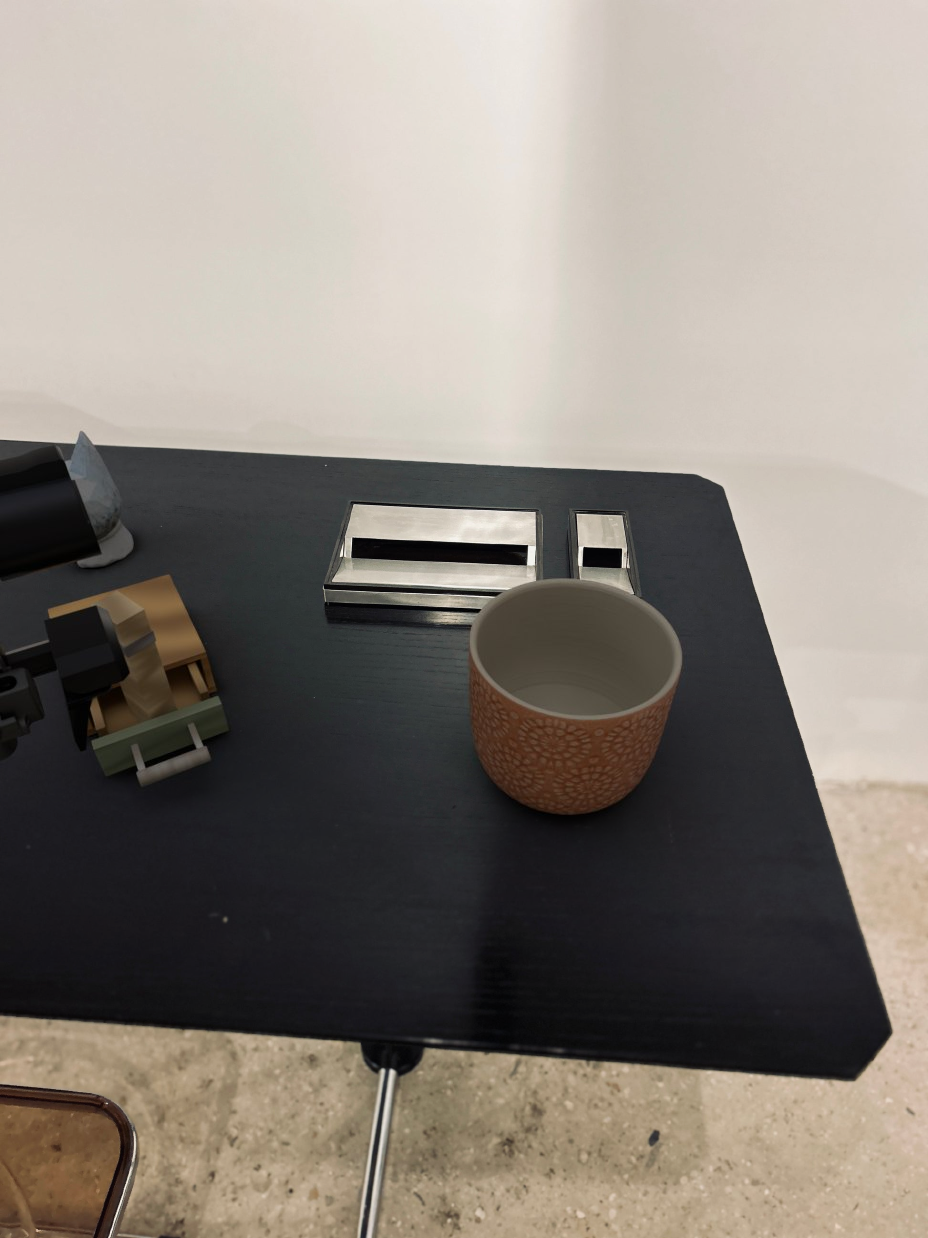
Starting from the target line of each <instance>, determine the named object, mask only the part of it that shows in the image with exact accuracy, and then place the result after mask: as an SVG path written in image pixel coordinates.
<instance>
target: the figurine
mask: <svg viewBox="0 0 928 1238" xmlns="http://www.w3.org/2000/svg"><path fill="white" fill-rule="evenodd" d="M72 451H73V452H72V454H71V457H70V459H69V460H65V463H66V466H67V469H68V472H69V474H70V477H71V480H74V479H75V481H76V484H77V487H78V489H79V492H80V495H81V497H82V500H83V503H84V505H85V508H86V510H87V513H88V516H89V518H90V521H91V524H92V527H93V529H94V532H95V535H96V538H97V541H98V544H99V546H100V549H101V552H102V555H99V556H95V557H91V558H87V559H84V560H80V561H76V563H77V565H78V567H80V568H81V569H97V568H102V567H107V566H109V565H111V564H113V563H115V562H117V561H120V560H123V559H125V558H126V557H127V556H128V555H129V554H130V553H132V552H133V550H134V546H135V545H134V544H135V543H134V538H133V535H132V534H131V532H130V531H129V530H128V529H127V528H126V527H125V526H124V524H123V522H122V520H121V515H122V512H123V507H124V505H123V500H122V496H121V493H120V492H119V489H118V487H117V485H116V484H115V482H114V479H113V478H112V475H111V473H110V471H109V470H108V467H107V466H106V464H105V462H104V461H103V458H102V456H101V455H100V453H99V452H98V450H97V448H96V447H95V445H94V443H93V442H92V441H91V439H90V438H89V437H88V435H87V433H85V432H84V431H83V430H80V431H79V433H78V437H77V440H76V442H75V446H74V448H73V450H72Z"/></svg>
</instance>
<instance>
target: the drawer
mask: <svg viewBox="0 0 928 1238" xmlns="http://www.w3.org/2000/svg"><path fill="white" fill-rule="evenodd" d="M165 674H166V677H167V680H168V683H169V686H170V689H171V692H172V695H173V698H174V701H175V704H176V707H177V710H176V711H173V712H171V713H168V714H165V715H162V716H159V717H157V718H154V719H151V720H148V721H145V722H142V723H141V722H140V721H138V720H137V719H136V718H135V717H133V716H132V714H131V711H130V709H129V706H128V704H127V701H126V698H125V696H124V693H123V691H122V688H121V686H118V687H115V688H112V689H110V691H109V692H107V693H105V694H102V695H99V696H97V697H96V698H94V699H93V701H92V704H91V707H90V710H91V713H92V717H93V720H94V724H95V727H96V731H97V733H96V734H97V735H98V738H95V739H93V740H90V741H91V746H92V750H93V752H94V754H95V756H96V758H97V760H98V762H99V765H100V767H101V769H102V771H103V774H104V776H105V777H109V776H111V775H113V774H117V773H119V772H122V771H124V770H127V769H129V768H132V767H136V768H137V771H136V772H135V773H136V777H137V780H138V782H139V785H140V787H141V788H144V787H147V786H150V785H152V784H155V783H157V782H160V781H162V780H165V779H167V778H170V777H173V776H175V775H178V774H180V773H183V772H185V771H188V770H190V769H194V768H195V767H199V766H201V765H204V764H206V763H209V762H211V761H212V758H211V754H210V752H209V750H208V747H207V745H204V744H203V741H204V740H207V739H210V738H213V737H215V736H218V735H220V734H224V733H226V732H228V731H230V729H229V725H228V721H227V718H226V714H225V711H224V706H223V704H222V701H221V699H220V697H219V696H218V695H216V696H213V697H211V696H210V693H209V692H208V689H207V687H206V685H205V683H204V680H203V678H202V676H201V674H200V672H199V669H198V667H197V665H196V663H195V661H193V662H190V663H187V664H184V665H181V666H178V667H175V668H172V669H169V670H166V671H165ZM191 745H194V746H195V749H193V750H191V751H187V752H185V753H182V754H180V755H177V756H174V757H172V758H169V759H167V760H165V761H162V762H158V763H157V764H154V765H150V766H148V767H146V765H145V763H146V762H149V761H151V760H154V759H156V758H159V757H162V756H164V755H168V754H170V753H173V752H175V751H178V750H180V749H183V748H185V747H188V746H191Z"/></svg>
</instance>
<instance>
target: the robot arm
mask: <svg viewBox="0 0 928 1238" xmlns="http://www.w3.org/2000/svg"><path fill="white" fill-rule="evenodd" d="M65 461H66V460H65V458H64V455H63V452H62V450H61V448H60V446H57V445H55V444H54V445H49V446H45V447H39V448H35V449H32V450H30V451H28V452H26V453H24V454H21V455H17V456H14V457H9V458H4V459H0V581H1V582H6V581H10V580H13V579H17V578H22V577H25V576H29V575H32V574H35V573H39V572H42V571H46V570H51V569H54V568H57V567H61V566H65V565H69V564H73V563H77V561H80V560H84V559H87V558H91V557H95V556H99V555H102V552H101V549H100V546H99V544H98V541H97V538H96V535H95V532H94V529H93V527H92V524H91V521H90V518H89V516H88V513H87V510H86V508H85V505H84V503H83V500H82V497H81V495H80V492H79V489H78V487H77V484H76V481H75V479H74V480H71V477H70V474H69V472H68V469H67V466H66V463H65ZM43 623H44V626H45V627H44V628H45V631H46V634H47V639H45V640H42V641H39V642H35V643H32V644H29V645H24V646H22V647H19V648H15V649H12V650H8V651H5V649H4V648H3V645H2V644H1V643H0V762H1V761H4V760H6V759H8V758H9V757H11V756H12V755H13V754H14V753H15V751H16V750H17V748H18V742H19V741H18V738H21V737H24V736H27V735H30V734H31V725H32V724H34V723H35V722H38V721H41V720H44V718H45V717H46V713H45V710H44V706H43V703H42V699H41V696H40V693H39V690H38V686H37V684H36V682H35V679H34V678H38V677H41V676H44V675H47V674H50V673H53V672H56V671H57V674H58V677H59V682H60V685H61V690H62V694H63V698H64V703H65V706H66V711H67V716H68V720H69V723H70V727H71V731H72V735H73V739H74V743H75V744H76V746H77V748H78V750H79V752H81V753H82V752H85V751H87V746H88V735H87V733H88V718H89V711H90V707H91V704H92V701H93V699H94V698H96V697H97V696H99V695H102V694H105V693H107V692H109V691H110V689H111V688H112V685H113V684H116V683H119V682H122V681H124V680H125V679H126V677H127V676H128V675H129V674H130V671H129V668H128V665H127V662H126V659H125V657H124V654H123V651H122V648H121V645H120V643H119V640H118V637H117V634H116V631H115V629H114V626H113V623H112V620H111V618H110V615H109V612H108V610H106V609H104V608H101V607H99V606H97V605H94V606H91V607H88V608H84V609H81V610H77V611H74V612H71V613H67V614H64V615H60V616H57V617H54V618H50V617H49V618H48V619H44V620H43Z"/></svg>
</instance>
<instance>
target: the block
mask: <svg viewBox="0 0 928 1238" xmlns="http://www.w3.org/2000/svg"><path fill="white" fill-rule="evenodd" d="M94 605H97V606H99V607H101V608H104V609H106V610H108V612H109V615H110V618H111V620H112V623H113V626H114V629H115V631H116V634H117V637H118V640H119V643H120V645H121V648H122V651H123V654H124V657H125V659H126V662H127V665H128V668H129V671H130V674H129V675H128V676H127V677H126V679H125V680H124V681H122V682H119V683H120V685H121V688H122V691H123V693H124V696H125V698H126V701H127V704H128V706H129V709H130V711H131V714H132V716H133V717H135V718H136V719H137V720H138V721H140V722H141V723H142V722H145V721H148V720H151V719H154V718H157V717H159V716H162V715H165V714H168V713H171V712H173V711H176V710H177V707H176V704H175V701H174V698H173V695H172V692H171V689H170V686H169V683H168V680H167V677H166V674H165V671H164V668H163V665H162V662H161V659H160V656H159V653H158V650H157V647H156V644H155V641H156V638H155V635H154V632H153V630H151V628H150V625H149V622H148V619H147V616H146V613H145V610H144V609H143V608H142V607H140V606H139V605H137V604H136V603H134V602H133V601H131V600H130V599H129V598H127V597H126V596H124V595H123V594H121V593H120V592H118V591H115V592H113V593H111V594H109V595H108V596H106V597H104V598H102V599H100V600H98V601H96V602H95V603H93V604H91V605H90V607H91V606H94Z"/></svg>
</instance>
